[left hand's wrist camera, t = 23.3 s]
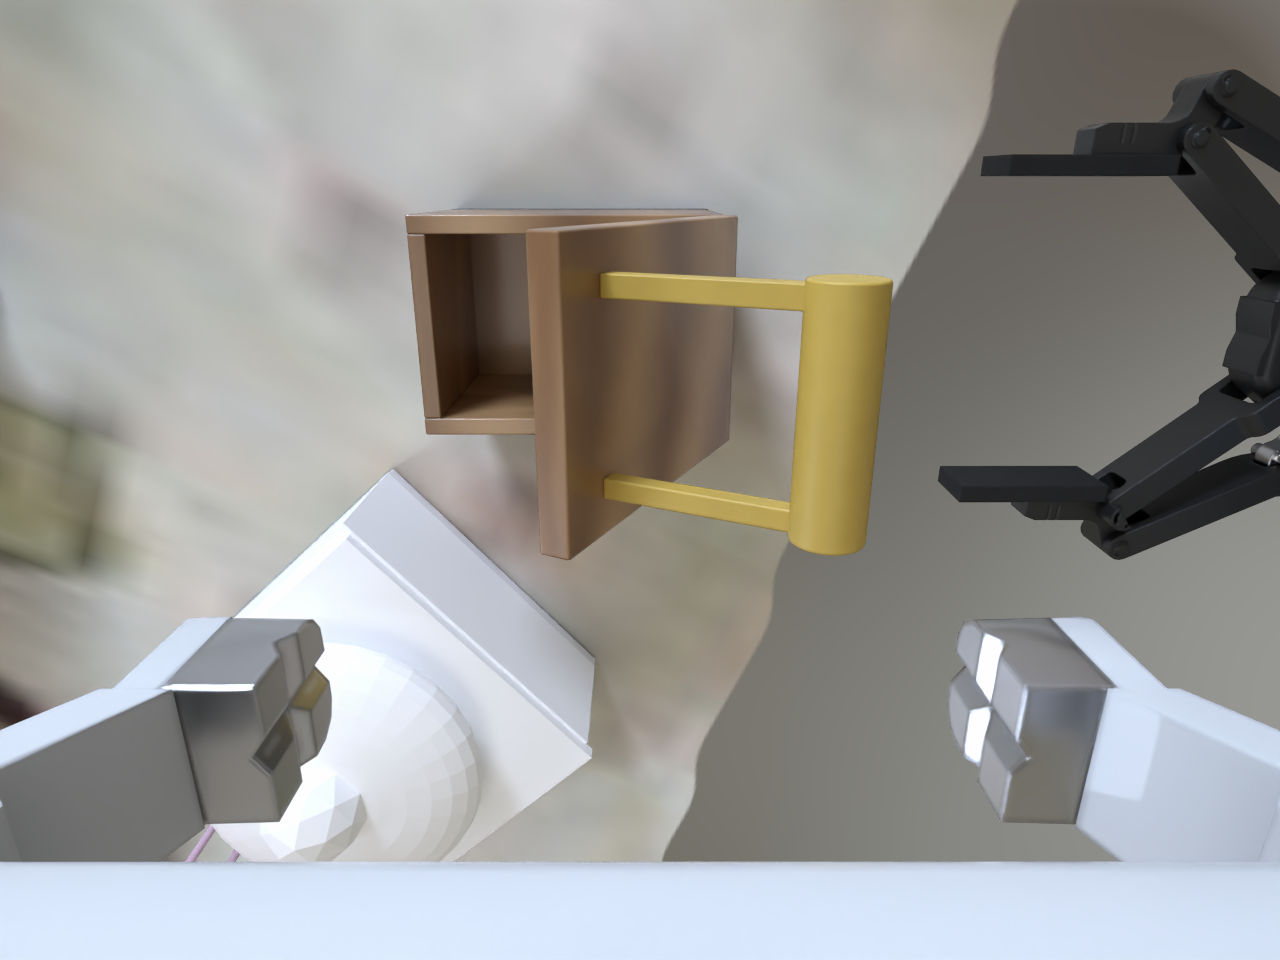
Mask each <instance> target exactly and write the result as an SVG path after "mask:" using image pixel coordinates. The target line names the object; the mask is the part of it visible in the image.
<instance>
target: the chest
mask: <svg viewBox="0 0 1280 960" xmlns="http://www.w3.org/2000/svg"><path fill="white" fill-rule="evenodd" d="M710 215H722V214H719V213H716V212H713V211H709V210H708V209H452V210H445V211H436V212H427V213H418V214H409V215H406V216H405V218H406V228H407V234H408V236H407V238H408V248H409V259H410V269H411V280H412V290H413V300H414V311H415V321H416V332H417V342H418V353H419V363H420V374H421V384H422V395H423V405H424V416H425V418H426V419H425V426H426V433H427V434H535V423H534V401H533V380H532V359H531V337H530V316H529V295H528V274H527V252H526V231H527V230H528V229H537V228H551V227H564V226H577V225H590V224H604V223H617V222H630V221H644V220H657V219H670V218H683V217H697V216H710Z"/></svg>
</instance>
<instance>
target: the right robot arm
mask: <svg viewBox="0 0 1280 960" xmlns="http://www.w3.org/2000/svg"><path fill="white" fill-rule="evenodd" d="M1173 102H1174V104H1173V106H1172V108H1171V110H1170V112H1169V113H1168V115H1167V116H1166V117H1165V118H1164V119H1163V120H1162V121H1160V122H1158V123H1105V124H1097V125H1090V126H1088V127H1085V128H1083V129H1080V130H1078V131H1077V136H1076V141H1075V147H1074V153H1073V155H1000V156H986V157H983V163H982V170H981V176H1169V177H1170V178H1171V179H1172V180H1173V182H1174V183H1175V184H1176V185H1177V186H1178V187H1179V188H1180V190H1181V191H1182V192H1183V193H1184V194H1185V195H1186V196H1187V197H1188V199H1189V200H1190V201H1191V202H1192V203H1193V204H1194V205H1195V207H1196V208H1197V209H1198V210H1199V211H1200V212H1201V213H1202V214H1203V216H1204V217H1205V218H1206V219H1207V220H1208V221H1209V223H1210V224H1211V225H1212V226H1213V227H1214V228H1215V229H1216V230H1217V232H1218V233H1219V234H1220V235H1221V236H1222V237H1223V238H1224V240H1225V241H1226V242H1227V243H1228V244H1229V245H1230V246H1231V247H1232V249H1233V250H1234V251H1235V252H1236V256H1235V260H1236V261H1237V262H1238V264H1239V265H1240V266H1241V267H1242V268H1243V269H1244V270H1245V272H1246V273H1247V274H1248V275H1249V276H1250V277H1251V278H1252V279H1253V281H1254V282H1255V283H1256V284H1255V285H1254V286H1253V288H1252V289H1251V290H1250V292H1249V293H1248V295H1247V296H1240V300H1239V304H1238V307H1237V311H1236V332H1235V334H1234V336H1233V338H1232V340H1231V342H1230V344H1229V346H1228V348H1227V350H1226V354H1225V358H1224V362H1223V366H1224V367H1227V368H1228V371H1229V375H1228V376H1226V377H1225V378H1223V379H1222V380H1221V381H1219V382H1218V383H1216V384H1215V385H1213V386H1212V387H1210V388H1209V389H1207V390H1206V391H1205V392H1203V393H1202V394H1201V395H1200V397H1199V403H1198V404H1197V405H1195V406H1194V407H1192V408H1191V409H1189V410H1188V411H1187V412H1185V413H1184V414H1182V415H1181V416H1179V417H1178V418H1176V419H1175V420H1173V421H1172V422H1170V423H1169V424H1168V425H1166V426H1165V427H1163V428H1162V429H1160V430H1159V431H1157V432H1156V433H1154V434H1153V435H1151V436H1150V437H1149V438H1147V439H1146V440H1144V441H1143V442H1141V443H1140V444H1138V445H1137V446H1135V447H1134V448H1132V449H1131V450H1129V451H1128V452H1127V453H1125V454H1124V455H1122V456H1121V457H1119V458H1118V459H1116V460H1115V461H1113V462H1112V463H1110V464H1109V465H1108V466H1106V467H1105V468H1103V469H1102V470H1100V471H1099V472H1097V473H1096V474H1094V475H1093V476H1092V475H1090V474H1088V473H1087V472H1085V471H1084V470H1082V469H1081V468H1079V467H1078V466H940V470H939V477H938V481H939V482H940V483H941V484H942V485H943V486H944V487H945V488H946V489H947V490H948V491H949V492H950V493H951V494H952V495H953V496H954V497H955V498H956V499H957V500H958V501H959V502H1011V505H1012V506H1013V507H1015V508H1016V509H1017V510H1018V511H1019V512H1021V513H1022V514H1023V515H1024V516H1026V517H1028V518H1031V519H1034V520H1084V522H1083V523H1082V525H1081V533H1082V534H1083V536H1085V537H1086V538H1087V539H1088V540H1090V541H1091V542H1092V543H1093V544H1095V545H1096V546H1097V547H1099V548H1100V549H1101V550H1103V551H1104V552H1105V553H1106V554H1108V555H1109V556H1110V557H1112V558H1113V559H1117V560H1120V559H1124V558H1127V557H1129V556H1132V555H1134V554H1137V553H1139V552H1142V551H1144V550H1147V549H1149V548H1151V547H1154V546H1156V545H1159V544H1161V543H1164V542H1166V541H1168V540H1171V539H1173V538H1176V537H1178V536H1181V535H1183V534H1186V533H1188V532H1190V531H1193V530H1195V529H1198V528H1200V527H1203V526H1205V525H1207V524H1210V523H1212V522H1215V521H1217V520H1220V519H1222V518H1224V517H1227V516H1229V515H1232V514H1234V513H1237V512H1239V511H1241V510H1244V509H1246V508H1249V507H1251V506H1254V505H1256V504H1259V503H1261V502H1263V501H1266V500H1268V499H1271V498H1273V497H1276V496H1280V435H1279V436H1278V437H1277V438H1276V439H1274V440H1272V441H1270V442H1267V443H1264V444H1261V443H1256V444H1254V445H1253V446H1252V448H1251V453H1250V454H1243V455H1239V456H1235V457H1231V458H1229V459H1226V460H1223V461H1221V462H1218V463H1216V464H1214V465H1211V466H1209V467H1207V468H1204V469H1202V468H1203V467H1205V466H1206V465H1208V464H1209V463H1211V462H1212V461H1214V460H1215V459H1216V458H1218V457H1220V456H1221V455H1223V454H1224V453H1226V452H1227V451H1229V450H1230V449H1232V448H1233V447H1235V446H1236V445H1238V444H1239V443H1241V442H1242V441H1244V440H1245V439H1247V438H1250V437H1259V436H1263V435H1266V434H1268V433H1269V432H1271V431H1272V430H1274V429H1275V428H1277V427H1279V426H1280V205H1279V204H1278V202H1277V201H1276V200H1275V199H1274V198H1273V197H1272V195H1271V194H1270V193H1269V192H1268V191H1267V189H1266V188H1265V187H1264V186H1263V185H1262V183H1261V182H1260V181H1259V180H1258V179H1257V178H1256V176H1255V175H1254V174H1253V173H1252V172H1251V171H1250V169H1249V168H1248V167H1247V166H1246V165H1245V163H1244V162H1243V161H1242V160H1241V159H1240V157H1239V156H1238V155H1237V154H1236V153H1235V152H1234V150H1233V149H1232V148H1231V147H1230V146H1229V144H1228V143H1227V142H1226V141H1225V140H1224V139H1223V137H1224V138H1226V139H1227V140H1229V141H1231V142H1232V143H1234V144H1235V145H1237V146H1238V147H1240V148H1242V149H1243V150H1245V151H1246V152H1248V153H1250V154H1251V155H1253V156H1254V157H1256V158H1258V159H1259V160H1261V161H1262V162H1264V163H1266V164H1267V165H1269V166H1270V167H1272V168H1274V169H1275V170H1277V171H1278V172H1280V97H1279V96H1278V95H1276V94H1274V93H1273V92H1271V91H1270V90H1268V89H1267V88H1265V87H1264V86H1262V85H1260V84H1259V83H1257V82H1256V81H1254V80H1253V79H1251V78H1250V77H1248V76H1247V75H1245V74H1244V73H1242V72H1240V71H1238V70H1235V69H1234V70H1227V71H1221V72H1216V73H1211V74H1205V75H1200V76H1196V77H1190V78H1186V79H1184V80H1182V81H1181V82H1180V83H1179V84H1178V85H1177V86H1176V88H1175V90H1174V92H1173ZM1222 136H1223V137H1222ZM1247 397H1249V398H1250V399H1251V400H1252V401H1253V402H1254V403H1248V402H1246V401H1243V400H1244V399H1246V398H1247ZM1200 469H1202V470H1200Z"/></svg>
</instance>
